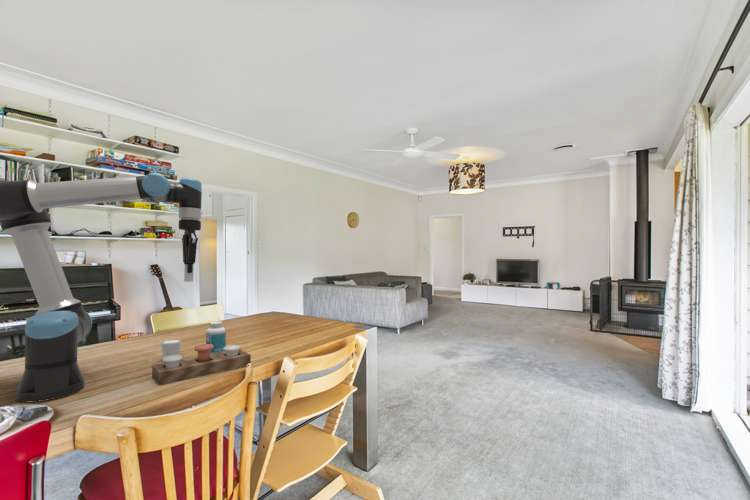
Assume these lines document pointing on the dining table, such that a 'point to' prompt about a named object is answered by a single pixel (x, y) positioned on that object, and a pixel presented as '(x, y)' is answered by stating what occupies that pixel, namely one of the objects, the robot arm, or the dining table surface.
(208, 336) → the pill bottle
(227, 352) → the grey plug right
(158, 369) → the press board
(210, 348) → the brick-red plug
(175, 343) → the light grey flanged plug
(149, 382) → the dining table surface
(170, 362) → the grey plug left
